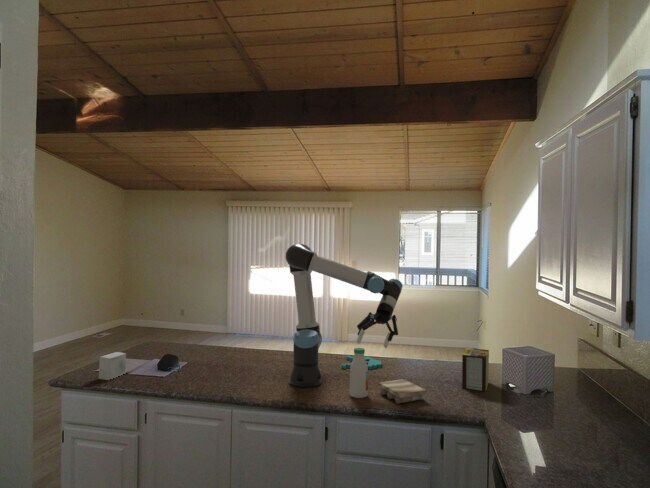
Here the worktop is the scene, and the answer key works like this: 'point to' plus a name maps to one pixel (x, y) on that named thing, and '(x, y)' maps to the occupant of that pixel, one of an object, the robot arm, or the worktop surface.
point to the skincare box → (112, 365)
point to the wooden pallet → (402, 391)
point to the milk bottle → (359, 375)
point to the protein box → (475, 369)
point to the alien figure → (370, 362)
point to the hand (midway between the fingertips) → (371, 344)
